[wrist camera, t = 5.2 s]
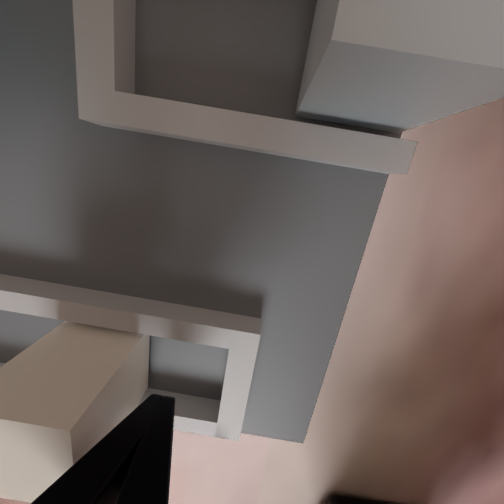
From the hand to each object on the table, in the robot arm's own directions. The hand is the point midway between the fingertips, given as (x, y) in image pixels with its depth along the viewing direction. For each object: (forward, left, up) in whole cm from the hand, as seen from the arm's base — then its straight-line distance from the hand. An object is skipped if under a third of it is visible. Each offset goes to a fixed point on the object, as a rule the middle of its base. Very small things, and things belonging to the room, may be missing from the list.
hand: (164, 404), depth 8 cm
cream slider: (+3, 0, -2) cm, 4 cm away
